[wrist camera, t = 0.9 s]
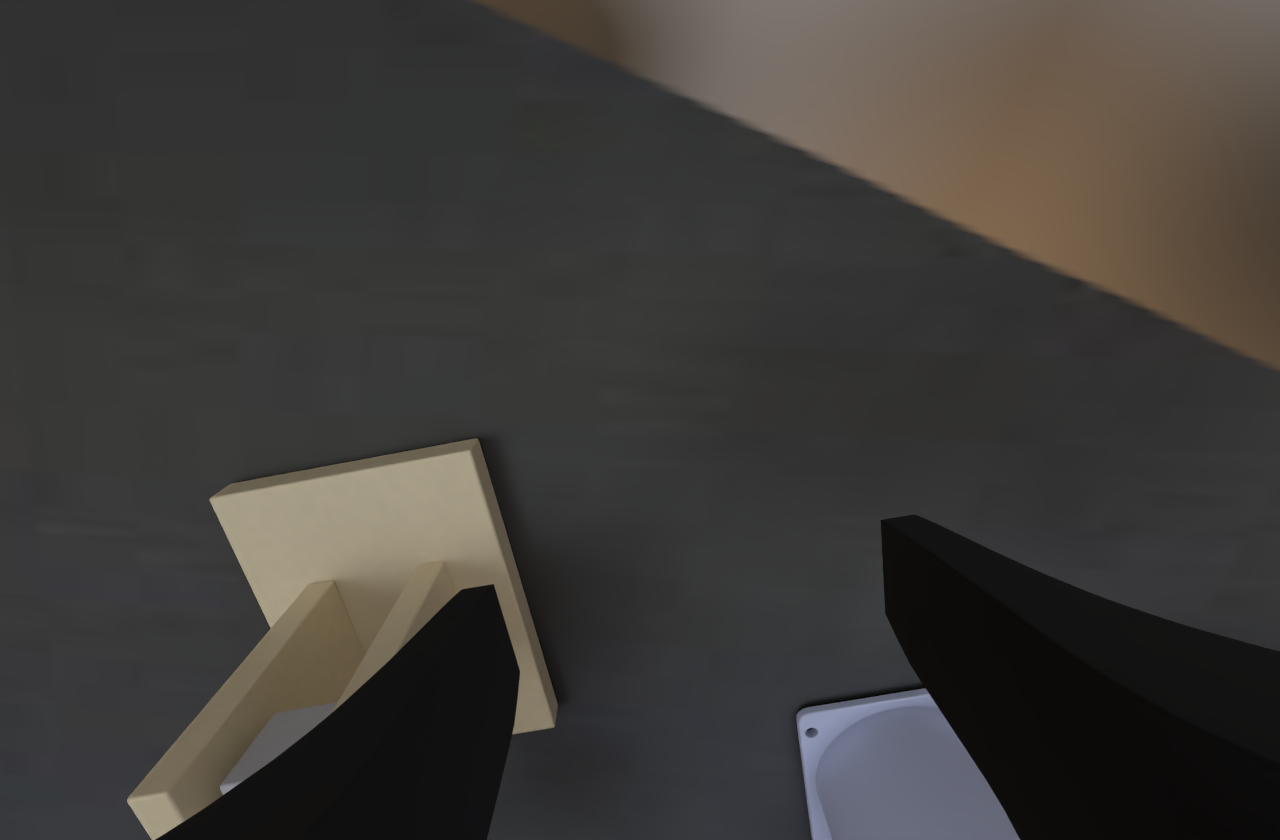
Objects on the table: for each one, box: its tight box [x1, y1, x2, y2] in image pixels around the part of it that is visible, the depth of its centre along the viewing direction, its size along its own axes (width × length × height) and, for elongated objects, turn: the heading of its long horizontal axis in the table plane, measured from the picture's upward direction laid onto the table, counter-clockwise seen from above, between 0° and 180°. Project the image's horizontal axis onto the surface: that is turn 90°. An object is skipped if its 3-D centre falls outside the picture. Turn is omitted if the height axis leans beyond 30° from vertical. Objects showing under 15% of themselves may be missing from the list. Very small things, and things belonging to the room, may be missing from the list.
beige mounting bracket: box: [127, 438, 558, 840], centre depth 19 cm, size 12×9×9 cm
